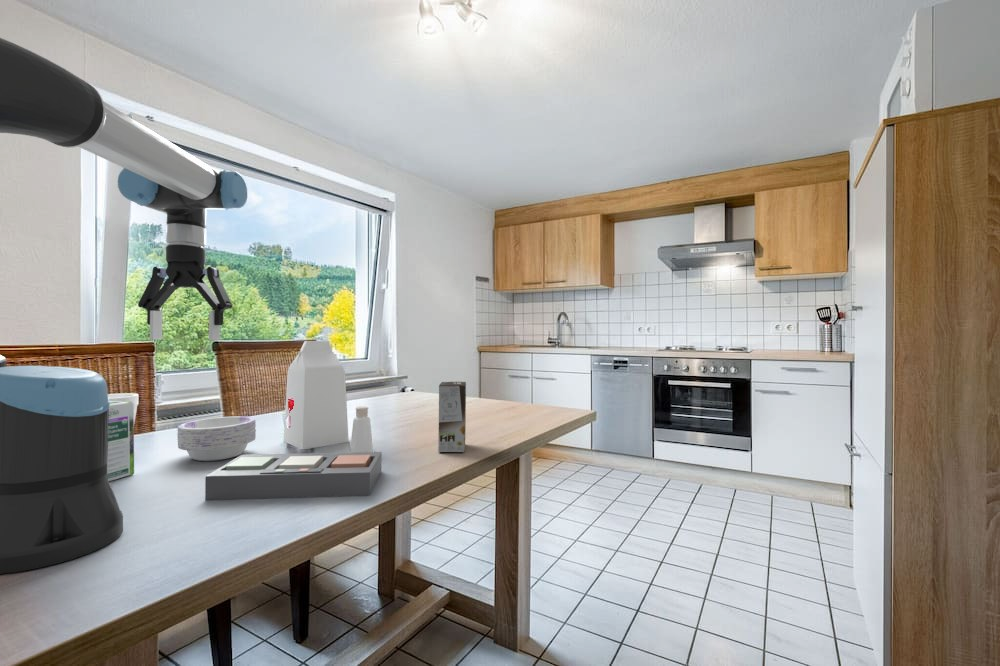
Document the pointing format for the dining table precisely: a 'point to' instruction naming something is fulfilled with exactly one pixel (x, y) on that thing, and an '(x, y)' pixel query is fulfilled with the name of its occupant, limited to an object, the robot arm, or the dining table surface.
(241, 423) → the paper bowls
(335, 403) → the milk
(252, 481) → the keypad
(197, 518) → the dining table surface
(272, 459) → the sage key
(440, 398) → the coffee box
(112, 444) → the syrup box
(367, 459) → the terracotta key
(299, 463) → the cream key
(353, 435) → the pepper shaker
